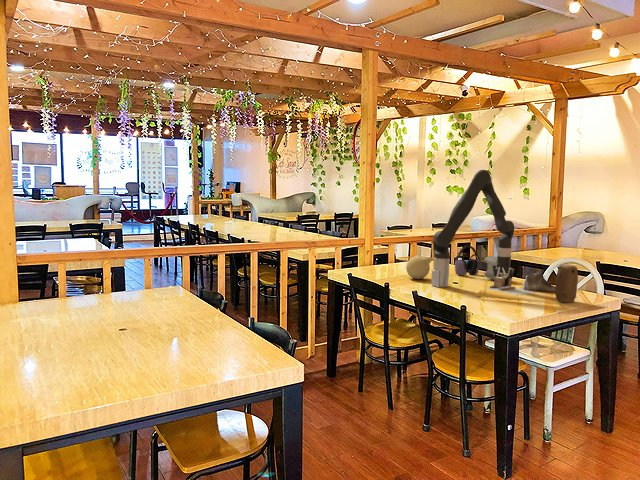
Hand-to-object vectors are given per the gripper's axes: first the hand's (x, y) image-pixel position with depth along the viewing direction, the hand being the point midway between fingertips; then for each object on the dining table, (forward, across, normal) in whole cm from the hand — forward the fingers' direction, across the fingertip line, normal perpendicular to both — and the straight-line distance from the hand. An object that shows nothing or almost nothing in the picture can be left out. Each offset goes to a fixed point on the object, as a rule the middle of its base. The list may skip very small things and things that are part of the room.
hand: (502, 284), depth 302 cm
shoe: (+4, -17, -17) cm, 24 cm away
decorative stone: (+4, +23, -24) cm, 34 cm away
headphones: (+4, +48, -21) cm, 52 cm away
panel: (+4, -6, 0) cm, 7 cm away
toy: (+4, +52, +19) cm, 55 cm away
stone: (+4, -34, -8) cm, 36 cm away
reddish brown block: (+1, 0, 0) cm, 1 cm away
